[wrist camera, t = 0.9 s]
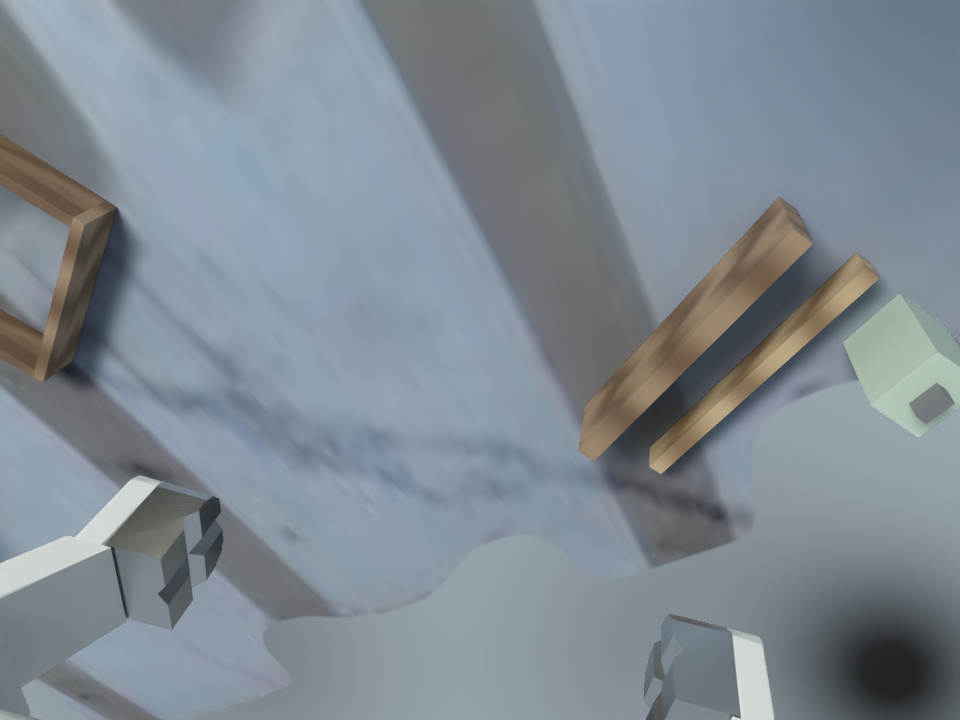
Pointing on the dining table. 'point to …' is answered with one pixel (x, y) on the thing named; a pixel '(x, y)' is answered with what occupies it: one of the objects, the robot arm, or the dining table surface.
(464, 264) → the dining table surface
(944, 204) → the dining table surface
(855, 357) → the cabinet block
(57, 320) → the rectangular wooden frame
